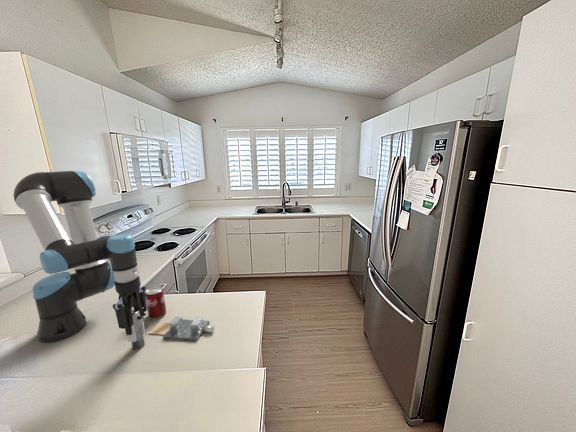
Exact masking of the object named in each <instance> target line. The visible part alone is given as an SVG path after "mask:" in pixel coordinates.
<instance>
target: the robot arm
mask: <svg viewBox="0 0 576 432" xmlns="http://www.w3.org/2000/svg"><path fill="white" fill-rule="evenodd" d="M94 183H95V182H93V179H92V178H91V177H90V175H89V174H88V173H87V172H86V171H82V170H68V171H67V170H66V171H62V170H61V171H47V172H46V171H45V172H44V171H42V172H41V171H40V172H34V173H30V174H28V175H26V176H24V177H23V178H21V179H20V181H18V183H17V184H16V186H15V188H14V190H13V201H14V202H15V204H16V206H17V207H18V208H20V209H21V210H23V211H24V213H25V215H26V217H27V219H28V220H29V222H30V225H31V227H32V229H33V231H34V233H35V234H36V236H37V239H38V240H39V242H40V244H41V246H42V248H43V250H44V251H42V252H40V253H39V261H40V265H41V267H42V271H44V273H46V274H48V276H45V277H43V278H41V279H40V280H38V281H36V282H35V284H33V286H32V294H33V295H32V298H33V299H34V302H35V306H36V310H37V313H38V318H39V322H38V323H39V324H38V330H37V334H36V336H37V340H38V341H39V342H41V343H52V342H53V343H54V342H57V341H60V340H63V339H64V340H65V339H67V338H69V337H71V336H74V335H76V334H78V333H79V331H81V330H82V329H84V328H85V327H86V325H87V318H86V316H85V314H84V313H83V312H82V311H81V310H80V308H79V307H78V303H77V302H79V301H82V300H84V299H88V298H91V297H93V296H95V295H98V294H101V293H104V292H106V291H108V290H111V289H112V288H114V287H115V292H116V293H117V294H118V301H117V302H116V303H113V304H112V308H113V309H114V313H115V316H116V320H117V325H118V329H122V330H124V331H125V335H126V336H127V341H128V342H136V341H137V339H136V333H135V328H134V325H132V310H139V313H140V314H141V315H143V318H142V319H141V325H142V331H143V334H145V333H146V329H145V320H144V319H145V318H144V317H145V316H146V315H147V313H146V312H148V311H147V305H146V298H145V292H146V286H141V285H142V284H141V279H140V276H139V275H140V273H139V272H140V271H139V268H138V262H137V261H138V260H137V253H136V248H135V247H136V243H135V241H134V238H133V235H132V234H129V233H128V234H127V233H126V234H125V233H122V234H121V233H120V234H115V235H107V234H105V235H101V236H99V237H98V235H97V231H96V228H95V223H94V218H93V215H92V211H91V207H90V205H91V203H92V202H93V198H94V197H96V193H97V192H96V187H95V184H94ZM52 202H56V203H57V204H56V205H57V206H58V207H59V208H61V209H63V212H64V216H65V219H66V222H67V223H66V224H67V226H68V230H67V228H66V226H65V225H64V223H63V221H62V219H61V218H60V216H59V214H58V213H57V211H56V210H55V207H54V206H53V204H52ZM108 260H109V262H108ZM72 269H74V271H75V272H74V273H70V272H69V270H72Z"/></svg>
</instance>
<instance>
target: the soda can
mask: <svg viewBox="0 0 576 432" xmlns="http://www.w3.org/2000/svg"><path fill="white" fill-rule="evenodd" d="M145 298H146V306H147V311H146V312H147V317H148V318H149V319H151V320H156V319H161V318H162V317H163V316H165V315H166V313H167V306H166V300H165V292H164V289H163V287H161V286H154V287H150V288H149V289H146V290H145Z"/></svg>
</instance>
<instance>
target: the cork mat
mask: <svg viewBox="0 0 576 432" xmlns="http://www.w3.org/2000/svg"><path fill="white" fill-rule="evenodd" d="M169 323H170V322H158V323H157V324H156V325H155V326H154V327H153V328H152V329H151V330H150V331H149V332H148V335H153V336H154V335H156V336H164V335H165V334H166V332H167V331H168V330H169V329H170V327H169Z"/></svg>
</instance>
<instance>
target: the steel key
mask: <svg viewBox="0 0 576 432" xmlns="http://www.w3.org/2000/svg"><path fill="white" fill-rule="evenodd" d="M143 317H144V316H143V315H141V314H140V313H139V310H134V309H132V325H134V328H135V333H136V339H137V341H136V342H131V348H132V350H133V351H138V350H141V349H142V348H144V346H145V344H146V343H145V337H144V333H143V331H142V325H141V319H142V318H143Z"/></svg>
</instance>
